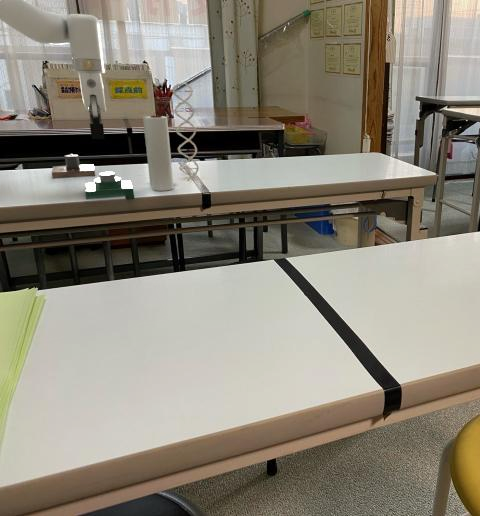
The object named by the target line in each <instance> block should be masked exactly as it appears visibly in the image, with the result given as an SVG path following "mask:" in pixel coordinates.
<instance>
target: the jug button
mask: <svg viewBox="0 0 480 516" xmlns="http://www.w3.org/2000/svg"><path fill="white" fill-rule="evenodd" d="M115 177H116V173H115V172H113V171H105V172H100V173H98V178H100V181H114V180H116V179H115Z"/></svg>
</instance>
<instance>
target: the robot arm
mask: <svg viewBox="0 0 480 516" xmlns="http://www.w3.org/2000/svg"><path fill="white" fill-rule="evenodd" d="M0 20H1V22H3V23H4V24H6V25H7V26H9V27H10V28H12V29H14V30H15V31H17V32H19V33H20V34H22V35H23V36H25V37H27V38H28V39H30V40H32V41H34V42H37V43H40V44H44V45H46V44H47V45H57V46H58V45H62V46H63V45H69V50H70V57H71V64H72V71H73V73H78V77H79V82H80V83H79V85H80V90H81V96H82V101H83V104H84V108H85V110H86V112H87V113H88V114H89V121H90V122H89V129H90V136H91V137H90V138H91V139H92V140H104V139H105V137H106V136H105V129H104V123H103V122H102V121H103V120H102V112H101V111H103V113H106V112H107V106H106V105H107V104H106V97H105V90H104V82H103V76H102V74H106V68H105V60H104V59H105V58H104V51H103V43H102V35H101V25H100V21H99V18H98V17H96V16H95V15H92V14H85V13H70V14H65V13H64V14H63V13H58V12H53V11H49V10H43V9H42V8H40V7H38V6H36V5H35V4H33V3H32V2H30V1H28V0H0Z"/></svg>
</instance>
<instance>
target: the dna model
mask: <svg viewBox="0 0 480 516" xmlns="http://www.w3.org/2000/svg"><path fill="white" fill-rule="evenodd" d="M184 84H185V86H187V88H188V89H189V90H184V93H189V95H188V96H187V97H186V98H185V99H183V98H181V97H180V96H179V95H178V94H176V93H182V92H183V90H176V88H177V87H178V86H179V85H180V83H179V82H178V83H177V84H175V85H174V86H173V87H172V90H171V91H172V94H173V95H174V97H176V98H177V99H178V100H180V101H181V102H178V104H177V105H176V106H175V107H174V109H173V112H174V114H175V115H176V116H177V117H178V118H180V119H181V120H183V122H181V123H180V124H179V125H178V126H177V127H176V128H175V133H176V134H177V135H178V136H180V137H182V139H185V140H184V141H183V142H182V143H181V144H179V146H178V147H177V152H178V153H179V154H180V155H181V156H182V155H183V157H185V158H187V160H185V161H183V163H181V164H180V165H179V168H178V169H179V170H180V171H181V173H183V174H185V175H187V176H189V177H188V178H187V179H186V181H187V182H189V181H190V180H191V179H193V178H194V177H195V176H196V175H197V174H198V172H199V169H200V167H199V165H198V163H197V162H196V161H195V159H193V158H194V157H195V156H196V155H197V153H198V148H197V146H196V144H195V143H194V142H193V141H192V139H193V138H194V136H195V135H196V133H197V129H196V127H195V126H194V125H193V123H191V121H190V120H191V119H192V118H193V117H194V114H195V109H194V107H193V106H192V105H191V104H190V103H189V102H188V100H189V99H190V98H191V97H192V96H193V93H194V91H195V90H193V88H192V87H191V86H190V84H188V83H187V82H184ZM183 104H184V105H185V104H186V105H187V106H188V107H189V108H190V110H178V109H179V108H180V106H182V105H183ZM180 112H184V113H191V114H190V115H189V116H188V117H187V119H186V118H184V117H183V116H181V115H180V114H179V113H180ZM184 124H189V125H190V127H192V129H193V130H189V129H188V130H187V132H193V133H192V134H191V136H190V137H189V138H188V137H186V136H184V135H183V134H182V133H181V132H185V130H180V129H181V127H182V126H183V125H184ZM187 143H190V144H191V145H193V147H194V148H193V149H191V148H190V149H188V151H194V153H193V154H192V155H191V156H189V155H187V154H186V153H184V152H182V151H183V149H181V148H182V147H183V146H184V145H185V144H187ZM184 151H187V149H184ZM189 162H193V164H194V165H195V166H196V167H189V168H188V167H185V168H184V167H183V166H184V165H185V164H187V163H189ZM185 170H195V172H194V173H192V174H190V173H188V172H186V171H185Z"/></svg>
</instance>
